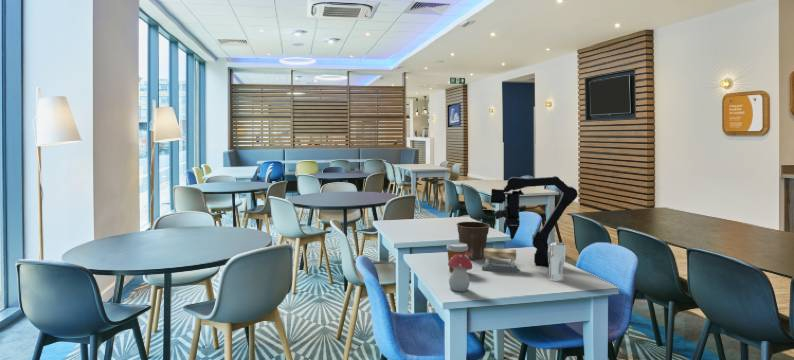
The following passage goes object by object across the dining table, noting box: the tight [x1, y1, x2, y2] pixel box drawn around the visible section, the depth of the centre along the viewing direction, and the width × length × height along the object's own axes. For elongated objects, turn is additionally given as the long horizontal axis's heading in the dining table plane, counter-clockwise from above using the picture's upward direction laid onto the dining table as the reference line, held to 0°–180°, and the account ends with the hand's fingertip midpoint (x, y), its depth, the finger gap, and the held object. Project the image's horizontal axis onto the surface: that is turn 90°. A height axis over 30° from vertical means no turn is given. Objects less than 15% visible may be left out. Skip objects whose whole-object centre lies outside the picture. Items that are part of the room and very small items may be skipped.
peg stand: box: [481, 258, 518, 273], centre depth 215 cm, size 15×7×6 cm, turn 76°
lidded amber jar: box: [446, 242, 468, 273], centre depth 210 cm, size 10×10×12 cm
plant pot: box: [456, 221, 491, 260], centre depth 237 cm, size 16×16×16 cm
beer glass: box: [547, 241, 567, 282], centre depth 199 cm, size 7×7×15 cm
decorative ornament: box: [447, 252, 473, 293], centre depth 184 cm, size 9×6×15 cm
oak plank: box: [482, 247, 517, 261], centre depth 214 cm, size 14×6×3 cm, turn 76°
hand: (512, 237), depth 226 cm, fingers open, 9 cm apart
